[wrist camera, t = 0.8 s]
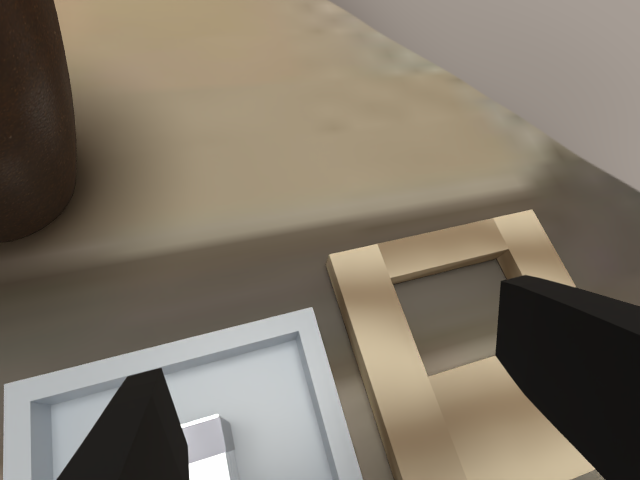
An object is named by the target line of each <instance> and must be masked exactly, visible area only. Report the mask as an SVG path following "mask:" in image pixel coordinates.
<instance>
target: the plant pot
mask: <svg viewBox="0 0 640 480" xmlns="http://www.w3.org/2000/svg"><path fill="white" fill-rule="evenodd" d="M75 183H76V132H75V118H74V108H73V100H72V92H71V85H70V79H69V73H68V67H67V62H66V56H65V50H64V45H63V41H62V36H61V31H60V26H59V22H58V17H57V12H56V8H55V4H54V0H0V242H7V241H12V240H16V239H20V238H22V237H25V236H28V235H30V234H32V233H35V232H36V231H38V230H40V229H42V228H44V227H45V226H47V225H48V224H49V223H50V222H52V221H53V220H54V219H55V218H56V217H57V216H58V215H60V213H61V212H62V211H63V210H64V209H65V207H66V206H67V204H68V203H69V201H70V199H71V197H72V195H73V192H74V188H75Z"/></svg>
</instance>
